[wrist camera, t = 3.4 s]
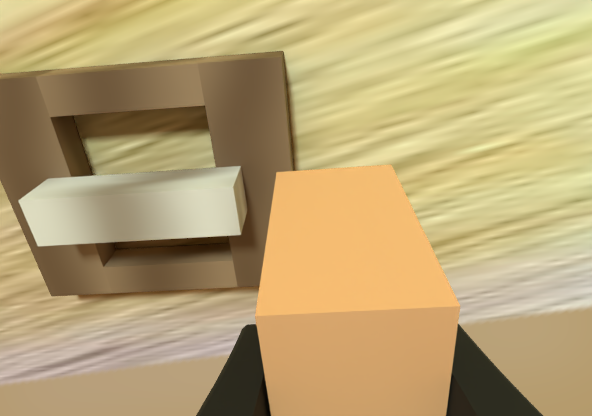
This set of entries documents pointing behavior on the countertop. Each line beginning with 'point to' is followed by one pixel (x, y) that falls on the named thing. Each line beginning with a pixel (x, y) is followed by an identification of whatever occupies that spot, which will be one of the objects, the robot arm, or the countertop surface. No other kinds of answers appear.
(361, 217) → the orange block
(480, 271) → the countertop surface
